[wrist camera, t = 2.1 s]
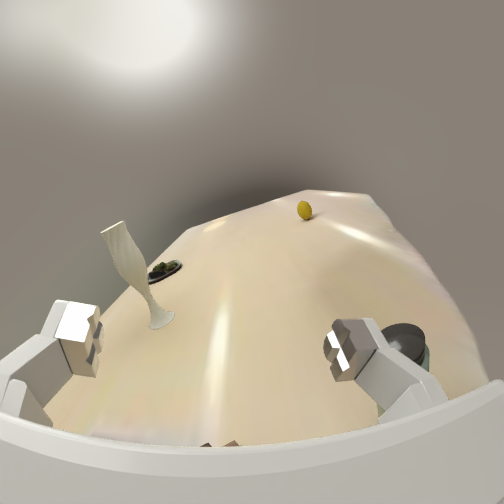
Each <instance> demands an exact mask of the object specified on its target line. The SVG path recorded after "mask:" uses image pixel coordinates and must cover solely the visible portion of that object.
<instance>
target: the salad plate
mask: <svg viewBox="0 0 504 504" xmlns="http://www.w3.org/2000/svg"><path fill="white" fill-rule="evenodd" d="M180 268H181V263H180V262H179V261H178V260H173V261H170V262H168V263H164V262H161V263H160V264H159V265H158V264H157V266H155V267H154V268H153V270H152V272H150V273H149V274H148V283H150V284H153V283H156V282H159V281H161V280H163V279H165V278H167V277H169V276H171V275H172V274H174V273H175V272H177V271H178V270H179V269H180Z"/></svg>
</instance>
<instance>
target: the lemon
mask: <svg viewBox="0 0 504 504" xmlns="http://www.w3.org/2000/svg"><path fill="white" fill-rule="evenodd" d="M297 211H298V214H299V216H300V217H301V218H303V219H306V220H308V219H309V217H310V216H311V215H312V209H311V206H310V205H309V203H307V202H305V201H301V202H300V203H299V204H298V206H297Z"/></svg>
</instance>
